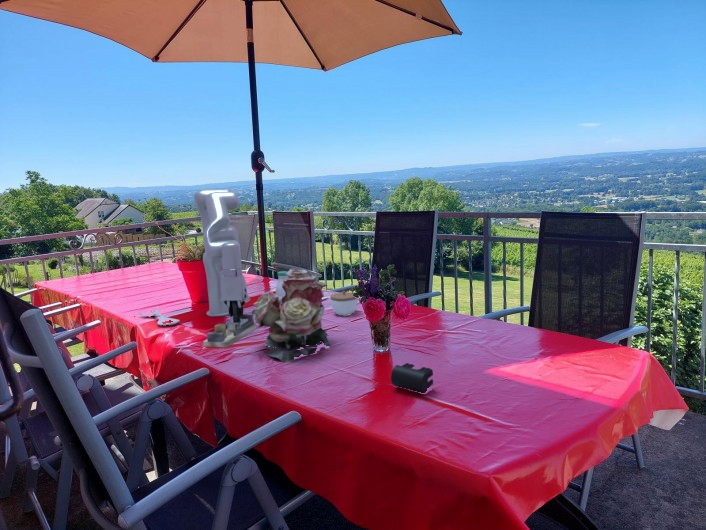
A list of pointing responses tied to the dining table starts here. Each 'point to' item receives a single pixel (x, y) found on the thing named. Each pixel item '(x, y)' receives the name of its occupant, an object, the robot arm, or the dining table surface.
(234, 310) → the ram
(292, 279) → the rose bouquet
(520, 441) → the dining table surface
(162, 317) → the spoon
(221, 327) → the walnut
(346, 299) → the lidded bowl
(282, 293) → the milk bottle
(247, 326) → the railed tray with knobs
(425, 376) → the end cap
